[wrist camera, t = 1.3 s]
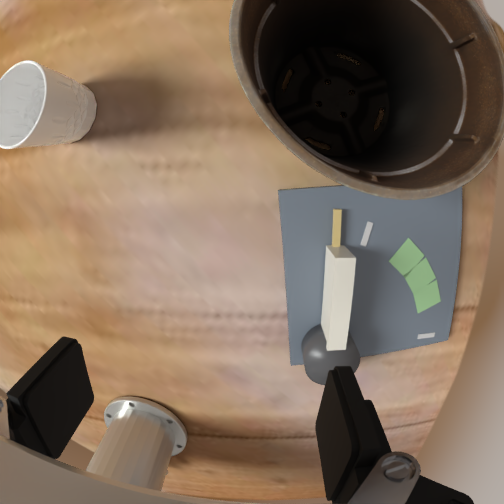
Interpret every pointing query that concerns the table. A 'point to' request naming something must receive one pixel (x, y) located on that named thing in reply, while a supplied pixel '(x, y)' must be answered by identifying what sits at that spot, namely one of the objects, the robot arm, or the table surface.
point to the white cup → (42, 107)
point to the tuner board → (374, 265)
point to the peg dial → (333, 314)
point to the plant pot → (376, 88)
